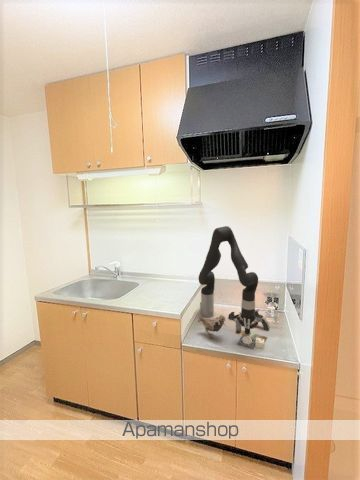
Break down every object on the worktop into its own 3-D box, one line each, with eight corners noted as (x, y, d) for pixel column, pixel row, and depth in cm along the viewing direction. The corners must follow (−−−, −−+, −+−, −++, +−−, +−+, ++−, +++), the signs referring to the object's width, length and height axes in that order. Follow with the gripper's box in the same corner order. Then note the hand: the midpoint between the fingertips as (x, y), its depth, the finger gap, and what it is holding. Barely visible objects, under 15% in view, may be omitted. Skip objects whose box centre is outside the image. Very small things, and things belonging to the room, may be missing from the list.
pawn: (234, 332, 155) (235, 319, 153) (236, 329, 158) (237, 316, 156) (240, 333, 153) (240, 320, 151) (242, 331, 156) (242, 318, 154)
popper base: (237, 346, 142) (237, 342, 142) (242, 338, 149) (242, 335, 149) (252, 350, 137) (252, 347, 137) (256, 342, 145) (256, 339, 144)
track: (233, 334, 154) (233, 332, 154) (236, 329, 159) (236, 328, 159) (265, 343, 144) (265, 342, 143) (267, 338, 148) (267, 337, 148)
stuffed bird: (225, 346, 142) (225, 319, 139) (193, 339, 150) (193, 313, 147) (229, 337, 151) (229, 312, 148) (199, 330, 159) (199, 306, 156)
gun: (269, 332, 153) (260, 310, 155) (233, 335, 170) (225, 314, 171) (271, 329, 158) (263, 307, 159) (236, 331, 174) (229, 311, 176)
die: (255, 348, 139) (255, 341, 138) (256, 344, 143) (256, 337, 142) (263, 350, 137) (263, 343, 137) (264, 346, 142) (264, 338, 141)
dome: (241, 344, 143) (241, 337, 142) (244, 340, 147) (244, 332, 146) (250, 347, 140) (250, 339, 139) (253, 343, 144) (253, 335, 143)
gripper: (234, 306, 140) (234, 333, 143) (258, 311, 133) (256, 340, 136) (239, 301, 146) (238, 327, 149) (261, 306, 139) (260, 333, 142)
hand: (247, 333), depth 142 cm, fingers closed
